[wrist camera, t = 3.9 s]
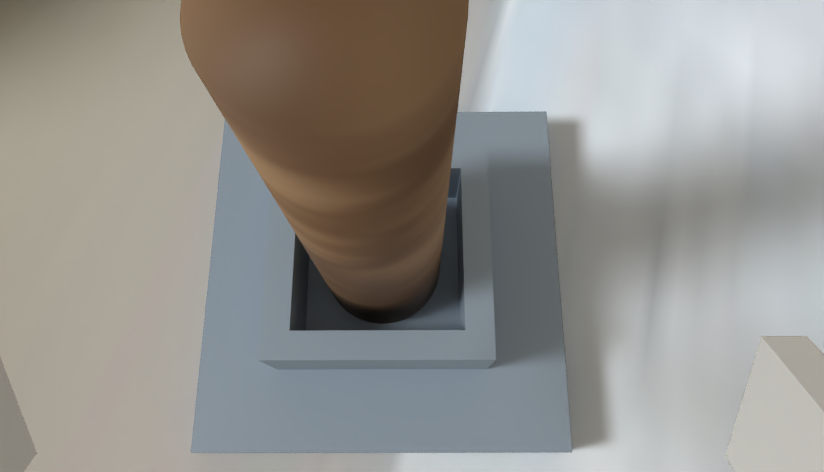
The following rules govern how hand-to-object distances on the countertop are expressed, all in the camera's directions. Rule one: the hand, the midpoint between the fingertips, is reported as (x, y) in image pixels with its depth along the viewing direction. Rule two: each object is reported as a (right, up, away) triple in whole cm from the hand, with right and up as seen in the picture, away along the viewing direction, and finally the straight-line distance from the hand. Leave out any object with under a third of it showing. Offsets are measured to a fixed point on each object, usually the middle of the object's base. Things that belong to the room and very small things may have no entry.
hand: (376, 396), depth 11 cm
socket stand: (-1, +1, +15) cm, 15 cm away
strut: (-1, +2, +14) cm, 14 cm away
